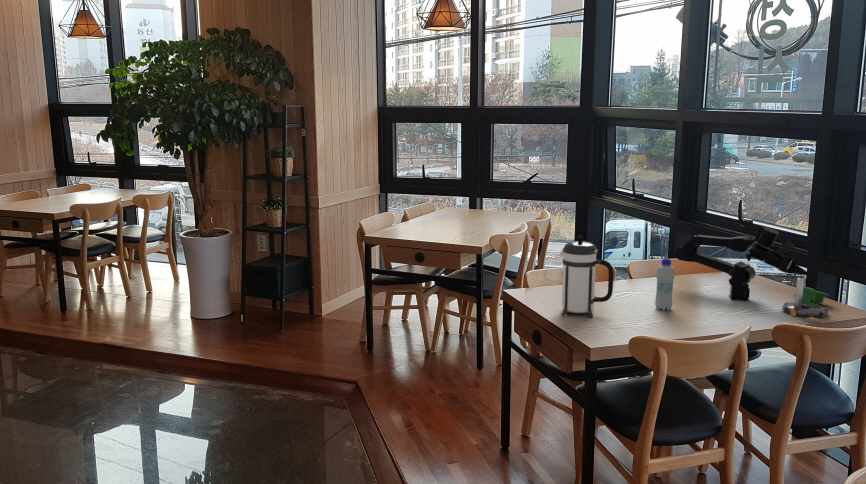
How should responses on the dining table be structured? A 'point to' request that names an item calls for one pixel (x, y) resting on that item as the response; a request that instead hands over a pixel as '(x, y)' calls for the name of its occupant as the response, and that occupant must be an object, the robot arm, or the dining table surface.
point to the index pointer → (812, 320)
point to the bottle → (664, 285)
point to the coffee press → (581, 277)
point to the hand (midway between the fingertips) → (806, 273)
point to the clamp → (813, 296)
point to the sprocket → (803, 305)
